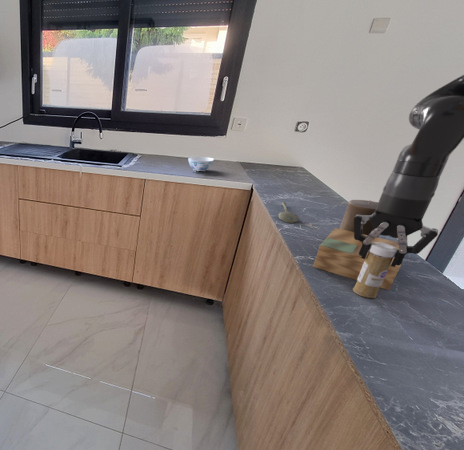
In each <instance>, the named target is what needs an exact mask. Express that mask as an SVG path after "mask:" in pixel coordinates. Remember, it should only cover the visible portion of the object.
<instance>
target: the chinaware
mask: <svg viewBox="0 0 464 450" xmlns="http://www.w3.org/2000/svg"><path fill="white" fill-rule="evenodd" d="M187 159H188V164H189V166H190V167H191V169H193V171H194V170H197V171H204V172H206V170H208V169H209V168H210V167H212V165H213V163H214V161H215V159H214V158H212V157H208V156H190V157H188V158H187Z"/></svg>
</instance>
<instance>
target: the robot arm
mask: <svg viewBox="0 0 464 450" xmlns="http://www.w3.org/2000/svg"><path fill="white" fill-rule="evenodd" d="M408 122H409V125H411V126H412V127H413V128H414V129H416V130H418V132H417V134H416V135H415V138H414V139H413V141H412V142H411V144H408V145H406V146H404V147H403V148H402V149H401V151H400V152H399V154H398V156H397V160H396V162H395V165H394V166H393V169H392V172H391V174H390V175H389V177H388V179H387V180H386V183H385V185H384V186H383V189H382V193H381V195H380V198H379V200H378V201H377V202H378V205H377V207H376V210H375V212H374V213H372V214H371V215H361V214H357V215H356V216H355V218H354V239H355V240H359V241H361V242H362V247H361V249H360V252H359V255H360V256H362V257H361V258H362V259H365V258H366V256H367V253H368V251H369V248H370V246H371V242H372V241H373V240H374V239H375V238H376V237H377V236H378V235H379V236H385V237H387V236H388V237H390V238H393V239H397V242H398V245H399V250H398V251H397V253H396V255H395V257H394V259H393V261H392V264H391V266H392V267H395V266H396V265H398V266H399V265H400V264H401V265H402V263H403V261H404V258H405V256H406V255H408V254H414V255H418V254H420V253H421V252H422V251H423V250H424V249H425V248H426V247H427V246H428V245H430V243H432V241H433V240H434V239H435V238H437V237H438V235H439V229H437V228H434V227H433V228H431V227H429V226H425V225H424V224H423V220H424V219H423V218H424V216H425V214H426V212H427V211H428V208H429V206H430V203H431V201H432V199H433V197H434V196H435V194H436V191H437V189H438V186H439V182H440V178H441V176H442V174H443V172H444V170H445V167H446V165H447V163H448V160H449V158H450V156H451V154H452V153H453V152H454V151H455V150H456V149H457V148H458V146H459V145H460V144H461V143H462V141H463V140H464V74H462V75H460V76H459V77H457V78H455V79H453V80H452V81H450V82H448V83H446V84H444V85H443V86H441V87H439V88H437V89H436V90H434V91H432V92H431V93H430V94H427V95H426V96H424V98H422V99H421V100H419V101H418V102H417V103H416V104H415V105H414V106H413V107H412V109H410V112H409V115H408ZM367 220H370V222H371V223H372V225H373V227H374V230H373V231H372V232H371V233H370V234H369V235H368V236H367V237H366V236H364V235H363V224H365V223H366V222H367ZM419 231H420V237H421V238H420V239H419V240H418V241H417V242H416V243H414V245H409V244H408V236H411V235H412V234H414V233H417V232H419Z"/></svg>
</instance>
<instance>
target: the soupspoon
mask: <svg viewBox="0 0 464 450" xmlns="http://www.w3.org/2000/svg"><path fill="white" fill-rule="evenodd" d="M280 205H281V206H283V208H284V211H281V212H279V213H278V218H279V219H280V220H281V221H283V222H285V223H287V224H295V223H298V221H299V216H298V214H296V213H294V212H292V211H289V210H288V208H287V206H286V205H287V203H286V202H285V201H281V203H280Z"/></svg>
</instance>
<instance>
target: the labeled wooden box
mask: <svg viewBox="0 0 464 450" xmlns="http://www.w3.org/2000/svg"><path fill="white" fill-rule="evenodd" d="M363 235H364V234H363ZM364 236H366V237H367V236H368V235H364ZM376 242H377V243H385V244H389V245H392V246H394V247H396V248H397V250H399V245H398V241H395V240H390V239H387V238H386V239H385V238H382V237H378V238H377V237H376V238H375V239H374V240H373V241H372V242H371V244H372V243H376ZM361 247H362V242H361V241H359V240H355V239H354V232H351V231H347V230H342V229H339V228H337V227H334V228H333V230H332V231H331V232H330V233H329V235H328V236H326V238H325V239H324V240H323V241H322V242H321V244H320V245H319V248H318V251H317V254H316V257H315V260H314V262H313V266H312V267H313V268H316V269H319V270H322V271H325V272H328V273H331V274H335V275H337V276H341V277H344V278H347V279H351V280H354V281H357V278H358V276H359V274H360V271H361V269H362V266H363V264H364V262H365V260H366V258H365V259H362V258H361V257H362V256H360V255H359V252H360V249H361ZM368 253H369V251H368ZM368 253H367V255H368ZM366 257H367V256H366ZM393 259H394V258H393ZM393 259H392V261H393ZM392 261H391V264H392ZM391 264H390V266H389V268H388V270H387V274H386V276H385V278H384V280H383V283H382V285H381V286H380V288H379V289H384V290H387V291H390V290H391V288H392V286H393V284H394V282H395V279H396V277H397V275H398V273H399V270H400V269H401V266H402V263H401V264H400V265H399V266H398V265H396V266H395V267H392V266H391Z"/></svg>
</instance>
